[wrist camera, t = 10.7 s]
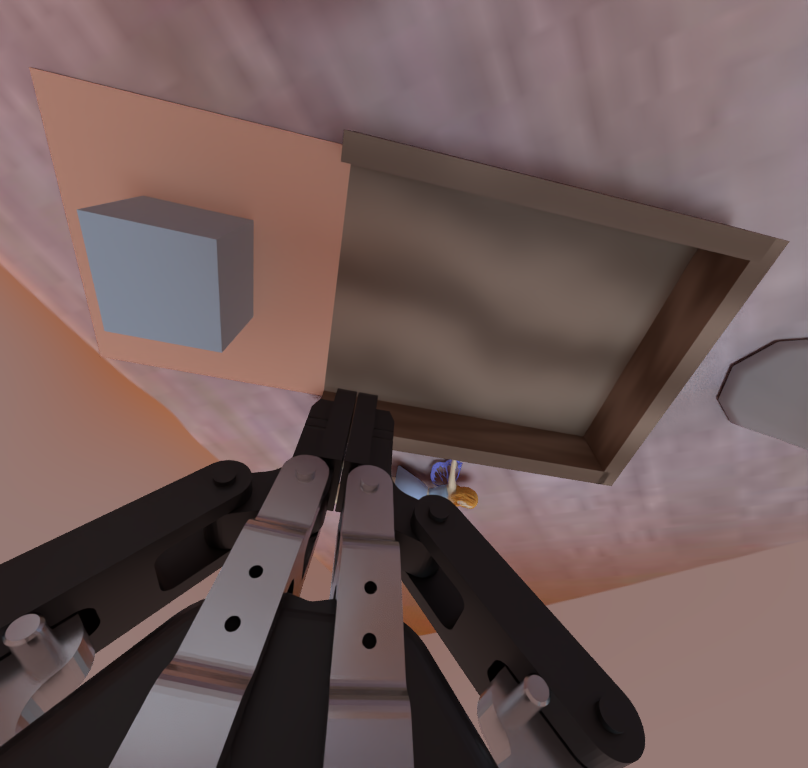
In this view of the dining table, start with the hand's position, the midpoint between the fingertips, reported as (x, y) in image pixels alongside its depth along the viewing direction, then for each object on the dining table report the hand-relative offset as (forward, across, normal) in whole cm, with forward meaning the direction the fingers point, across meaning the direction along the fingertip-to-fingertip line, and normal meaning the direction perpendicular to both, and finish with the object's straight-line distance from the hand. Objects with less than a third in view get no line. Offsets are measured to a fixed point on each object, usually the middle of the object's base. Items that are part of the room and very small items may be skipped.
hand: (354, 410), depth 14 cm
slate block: (+12, +11, 0) cm, 16 cm away
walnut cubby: (+12, -8, 0) cm, 14 cm away
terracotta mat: (+12, +10, 0) cm, 16 cm away
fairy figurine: (+12, -5, +16) cm, 20 cm away
